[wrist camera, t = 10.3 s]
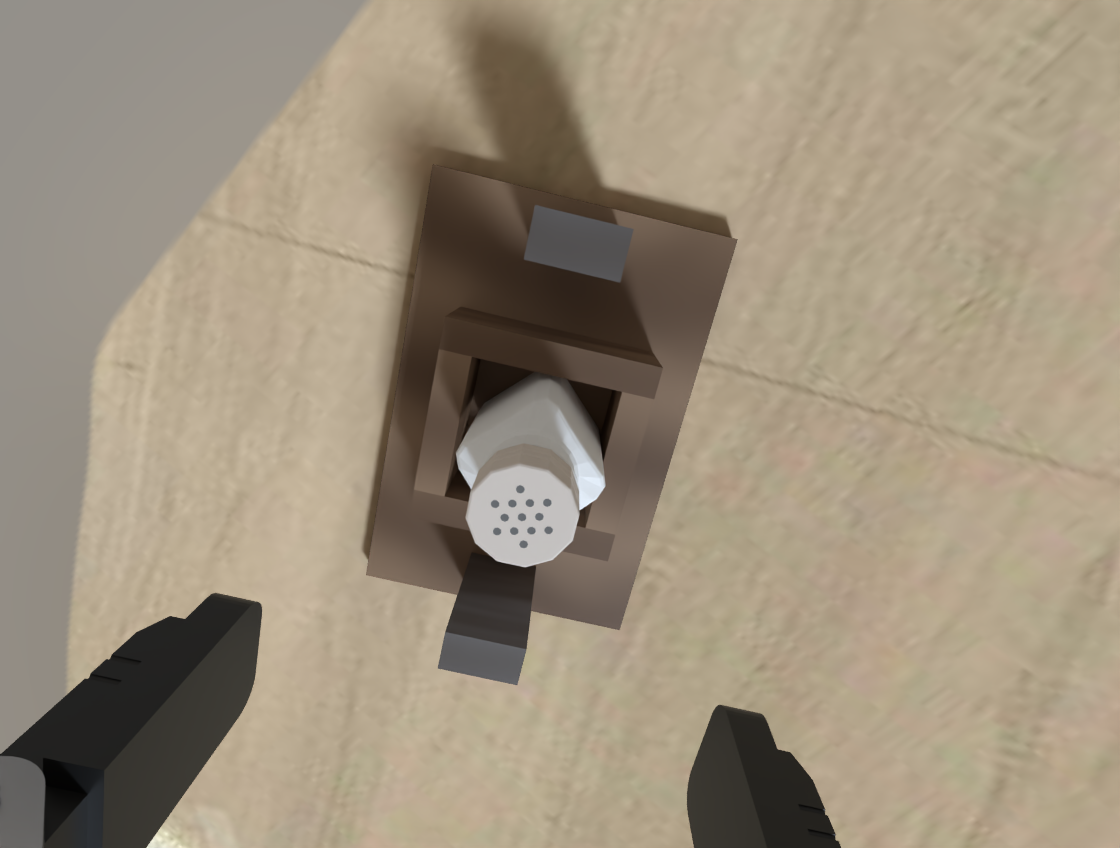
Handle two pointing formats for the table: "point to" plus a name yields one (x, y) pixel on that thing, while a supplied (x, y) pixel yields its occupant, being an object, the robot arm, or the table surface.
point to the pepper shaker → (530, 470)
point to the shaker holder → (513, 354)
